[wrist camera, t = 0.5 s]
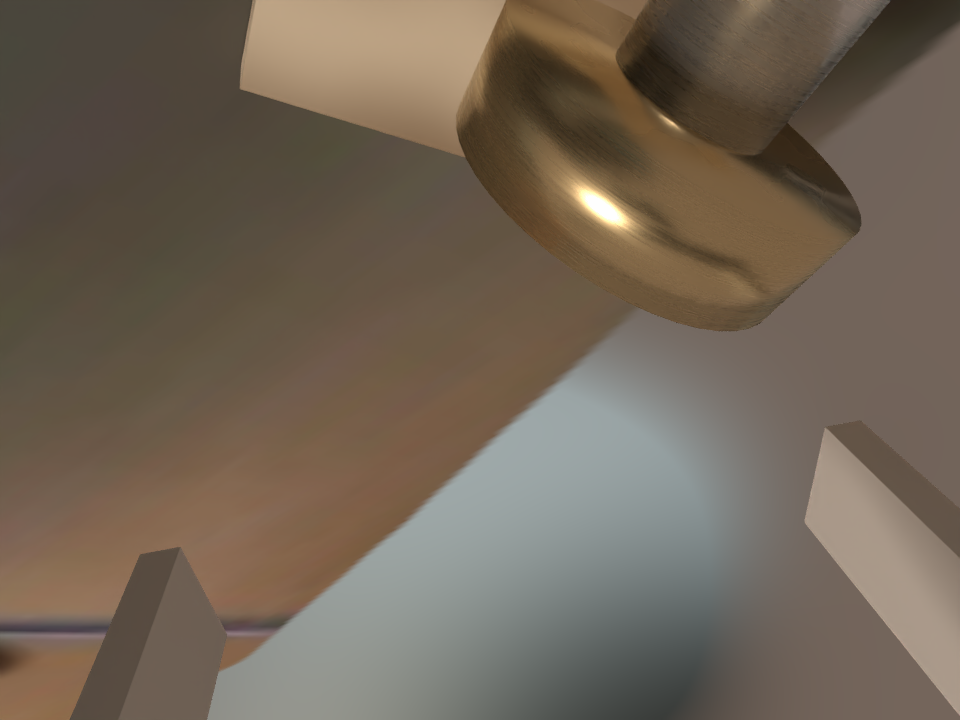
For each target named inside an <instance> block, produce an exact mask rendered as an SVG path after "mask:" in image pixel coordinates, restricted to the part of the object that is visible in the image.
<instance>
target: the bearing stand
mask: <svg viewBox="0 0 960 720" xmlns="http://www.w3.org/2000/svg"><path fill="white" fill-rule="evenodd" d="M505 1H506V0H253V2H252V8H251V13H250V19H249V24H248V30H247V35H246V41H245V47H244V52H243V58H242V64H241V79H240V89H242V90H245V91H249V92H252V93H255V94H259V95H262V96H265V97H268V98H272V99H275V100H278V101H282V102H285V103H288V104H291V105H295V106H298V107H301V108H305V109H308V110H311V111H314V112H318V113H321V114H324V115H328V116H331V117H334V118H338V119H341V120H344V121H347V122H351V123H354V124H357V125H361V126H364V127H367V128H370V129H374V130H377V131H380V132H384V133H387V134H390V135H393V136H397V137H400V138H403V139H407V140H410V141H413V142H417V143H420V144H423V145H426V146H430V147H433V148H436V149H440V150H443V151H446V152H449V153H453V154H456V155H459V156H463V157H465V155H464V152H463V150H462V148H461V145H460V143H459V139H458V135H457V130H456V114H457V111H458V107H459V104H460V102H461V100H462V98H463V95H464V93H465V91H466V89H467V87H468V84H469V82H470V80H471V78H472V75H473V73H474V71H475V69H476V66H477V64H478V62H479V60H480V57H481V55H482V53H483V51H484V48H485V46H486V44H487V42H488V39H489V37H490V35H491V33H492V31H493V28H494V26H495V24H496V22H497V19H498V17H499V15H500V13H501V10H502V8H503V6H504V4H505ZM595 1H598V2H600V3H603V4H605V5H607V6H609V7H612V8H614V9H616V10H618V11H620V12H622V13H624V14H626V15H628V16H630V17H632V18H634V19H636V18H637V16H638V15H639V13H640V11H641V10H642V8H643V6H644V5H645V3H646V1H647V0H595Z"/></svg>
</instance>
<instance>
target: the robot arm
mask: <svg viewBox="0 0 960 720" xmlns="http://www.w3.org/2000/svg"><path fill="white" fill-rule="evenodd" d="M804 522H805V524H806V525H807V526H808V527H809V528H810V530H811V531H812V532H813V533H814V535H815V536H816V537H817V538H818V540H819V541H820V542H821V543H822V545H823V546H824V547H825V548H826V550H827V551H828V552H829V553H830V555H831V556H832V557H833V558H834V560H835V561H836V562H837V563H838V565H839V566H840V567H841V568H842V570H843V571H844V572H845V573H846V575H847V576H848V577H849V578H850V579H851V581H852V582H853V583H854V585H855V586H856V587H857V588H858V589H859V591H860V592H861V593H862V594H863V596H864V597H865V598H866V600H867V601H868V602H869V603H870V604H871V606H872V607H873V608H874V610H875V611H876V612H877V613H878V614H879V616H880V617H881V618H882V620H883V621H884V622H885V623H886V624H887V626H888V627H889V628H890V629H891V631H892V632H893V633H894V634H895V636H896V637H897V638H898V639H899V641H900V642H901V643H902V644H903V646H904V647H905V648H906V649H907V651H908V652H909V653H910V654H911V656H912V657H913V658H914V659H915V661H916V662H917V663H918V664H919V665H920V667H921V668H922V669H923V671H924V672H925V673H926V674H927V676H928V677H929V678H930V679H931V681H932V682H933V683H934V684H935V686H936V687H937V688H938V689H939V691H940V692H941V693H942V694H943V696H944V697H945V698H946V699H947V701H948V702H949V703H950V704H951V705H952V706H953V708H954V709H955V710H956V712H957V713H958V714H959V715H960V509H959V508H958V507H957V506H956V505H955V504H954V503H953V502H952V501H950V500H949V499H948V498H947V497H946V496H945V495H944V494H942V493H941V492H940V491H939V490H938V489H937V488H936V487H935V486H934V485H932V484H931V483H930V482H929V481H928V480H927V479H926V478H925V477H923V476H922V475H921V474H920V473H919V472H918V471H917V470H915V469H914V468H913V467H912V466H911V465H910V464H909V463H908V462H907V461H905V460H904V459H903V458H902V457H901V456H900V455H899V454H898V453H896V452H895V451H894V450H893V449H892V448H891V447H890V446H889V445H888V444H886V443H885V442H884V441H883V440H882V439H881V438H879V436H877V435H876V434H875V433H874V432H873V431H872V430H871V429H870V428H868V427H867V426H866V425H865V424H864V423H863V422H862V421H855V422H849V423H844V424H838V425H833V426H828V427H825V430H824V435H823V439H822V444H821V449H820V453H819V457H818V462H817V467H816V472H815V476H814V481H813V485H812V490H811V494H810V498H809V503H808V508H807V512H806V517H805V521H804ZM226 637H227V634H226V632H225V630H224V628H223V626H222V624H221V622H220V620H219V619H218V617H217V615H216V613H215V611H214V609H213V607H212V605H211V603H210V602H209V600H208V598H207V596H206V594H205V592H204V590H203V588H202V587H201V585H200V583H199V581H198V579H197V577H196V575H195V573H194V572H193V570H192V568H191V566H190V564H189V562H188V560H187V558H186V557H185V555H184V553H183V551H182V549H181V547H177V548H172V549H167V550H161V551H156V552H151V553H145V554H140V556H139V559H138V561H137V563H136V566H135V568H134V570H133V573H132V575H131V577H130V580H129V582H128V584H127V587H126V589H125V591H124V594H123V596H122V598H121V601H120V603H119V606H118V608H117V610H116V613H115V615H114V617H113V620H112V622H111V624H110V627H109V629H108V631H107V634H106V636H105V638H104V641H103V643H102V645H101V648H100V650H99V652H98V655H97V657H96V660H95V662H94V664H93V667H92V669H91V671H90V674H89V676H88V678H87V681H86V683H85V685H84V688H83V690H82V692H81V695H80V697H79V699H78V702H77V704H76V707H75V709H74V711H73V714H72V716H71V718H70V720H207V717H208V713H209V708H210V705H211V700H212V696H213V692H214V688H215V684H216V679H217V675H218V671H219V667H220V663H221V658H222V654H223V650H224V646H225V641H226Z"/></svg>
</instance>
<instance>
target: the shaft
mask: <svg viewBox="0 0 960 720" xmlns="http://www.w3.org/2000/svg"><path fill="white" fill-rule="evenodd" d="M890 1H891V0H647V1H646V3H645V5H644V6H643V8H642V10H641V11H640V13H639V15H638V16H637V18H636V19H634V18H632V17H630V16H628V15H626V14H624V13H622V12H620V11H618V10H616V9H614V8H612V7H609V6H607V5H605V4H603V3H600V2H598V1H595V0H506V1H505V4H504V6H503V8H502V10H501V13H500V15H499V17H498V19H497V22H496V24H495V26H494V28H493V31H492V33H491V35H490V37H489V39H488V42H487V44H486V46H485V48H484V51H483V53H482V55H481V57H480V60H479V62H478V64H477V66H476V69H475V71H474V73H473V75H472V78H471V80H470V82H469V84H468V87H467V89H466V91H465V93H464V95H463V98H462V100H461V102H460V104H459V107H458V111H457V114H456V130H457V135H458V139H459V143H460V145H461V148H462V150H463V152H464V155H465V157H466V159H467V161H468V163H469V164H470V166H471V168H472V170H473V171H474V173H475V175H476V176H477V178H478V179H479V180H480V182H481V183H482V185H483V186H484V187H485V189H486V190H487V191H488V193H489V194H490V195H491V196H492V198H493V199H494V200H495V201H496V202H497V203H498V204H499V206H500V207H501V208H502V209H503V210H504V211H505V212H506V213H507V215H508V216H509V217H511V218H512V219H513V220H514V221H515V222H516V223H517V224H518V225H519V226H520V227H521V228H522V229H523V230H524V231H525V232H526V233H527V234H528V235H529V236H530V237H532V238H533V239H534V240H535V241H536V242H538V243H539V244H540V245H541V246H542V247H544V248H545V249H546V250H547V251H548V252H549V253H551V254H552V255H553V256H555V257H556V258H557V259H559V260H560V261H562V262H563V263H564V264H566V265H567V266H568V267H570V268H571V269H572V270H574V271H575V272H577V273H578V274H580V275H581V276H583V277H585V278H586V279H588V280H589V281H591V282H592V283H594V284H596V285H597V286H599V287H600V288H602V289H604V290H606V291H607V292H609V293H611V294H613V295H615V296H617V297H618V298H620V299H622V300H624V301H626V302H628V303H630V304H632V305H634V306H636V307H639V308H641V309H643V310H645V311H647V312H650V313H652V314H654V315H657V316H660V317H663V318H665V319H668V320H671V321H674V322H676V323H680V324H684V325H688V326H692V327H696V328H700V329H707V330H714V331H738V330H744V329H749V328H751V327H753V326H755V325H758V324H760V323H761V322H762V321H763V320H764V319H765V318H766V317H767V316H769V315H770V314H771V313H772V312H773V311H774V310H775V309H776V308H777V307H778V306H779V305H780V304H782V303H783V302H784V301H785V300H786V299H787V298H788V297H789V296H790V295H791V294H792V293H794V291H796V290H797V289H798V288H799V287H800V286H801V285H802V284H803V283H804V282H805V281H806V280H808V279H809V278H810V277H811V276H812V275H813V274H814V273H815V272H816V271H817V270H818V269H819V268H820V267H822V266H823V265H824V264H825V263H826V262H827V261H828V260H829V259H830V258H831V257H832V256H833V255H834V254H836V253H837V252H838V251H839V250H840V249H841V248H842V247H843V246H844V245H845V244H846V243H847V242H849V240H851V238H853V237H854V236H855V235H856V234H857V233H858V232H859V231H860V227H861V215H860V212H859V209H858V206H857V204H856V202H855V200H854V199H853V197H852V195H851V193H850V192H849V190H848V189H847V187H846V186H845V184H844V183H843V181H842V180H841V179H840V177H839V176H838V175H837V174H836V172H835V171H834V170H833V169H832V168H831V166H830V165H829V164H828V163H827V162H826V161H825V160H824V159H823V157H822V156H821V155H820V154H819V153H818V152H817V151H816V150H815V149H814V148H813V147H812V146H811V145H810V144H809V143H808V142H807V141H806V140H805V139H804V138H803V137H802V136H801V135H800V134H799V133H797V132H796V131H795V130H794V129H793V128H792V127H791V126H790V125H789V124H787V122H788V121H789V120H790V119H791V117H792V116H793V115H794V114H795V113H796V112H797V110H798V109H799V108H800V107H801V106H802V105H803V103H804V102H805V101H806V100H807V99H808V97H809V96H810V95H811V94H812V93H813V92H814V90H815V89H816V88H817V87H818V86H819V85H820V83H821V82H822V81H823V80H824V79H825V77H826V76H827V75H828V74H829V73H830V72H831V70H832V69H833V68H834V67H835V66H836V65H837V63H838V62H839V61H840V60H841V59H842V57H843V56H844V55H845V54H846V53H847V52H848V50H849V49H850V48H851V47H852V46H853V45H854V43H855V42H856V41H857V40H858V39H859V37H860V36H861V35H862V34H863V33H864V32H865V30H866V29H867V28H868V27H869V26H870V25H871V23H872V22H873V21H874V20H875V19H876V17H877V16H878V15H879V14H880V13H881V12H882V10H883V9H884V8H885V7H886V6H887V5H888V3H889V2H890Z"/></svg>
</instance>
